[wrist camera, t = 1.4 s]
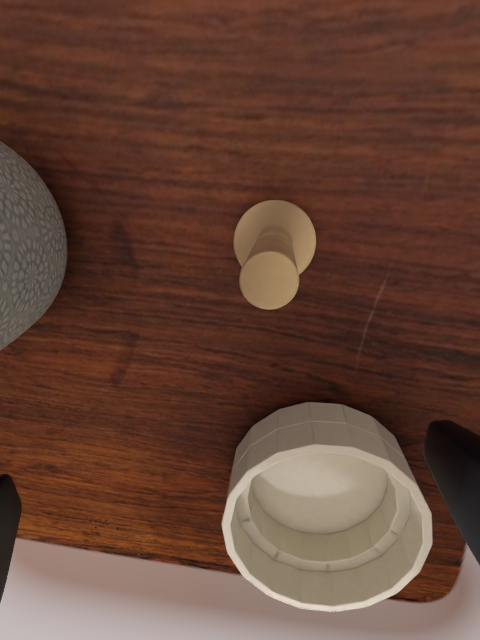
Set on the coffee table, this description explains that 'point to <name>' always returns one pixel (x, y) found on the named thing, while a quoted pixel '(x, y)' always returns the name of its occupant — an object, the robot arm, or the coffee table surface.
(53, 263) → the planter
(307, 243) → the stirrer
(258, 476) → the bowl
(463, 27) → the coffee table surface
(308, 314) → the coffee table surface
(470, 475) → the robot arm
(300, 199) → the coffee table surface
